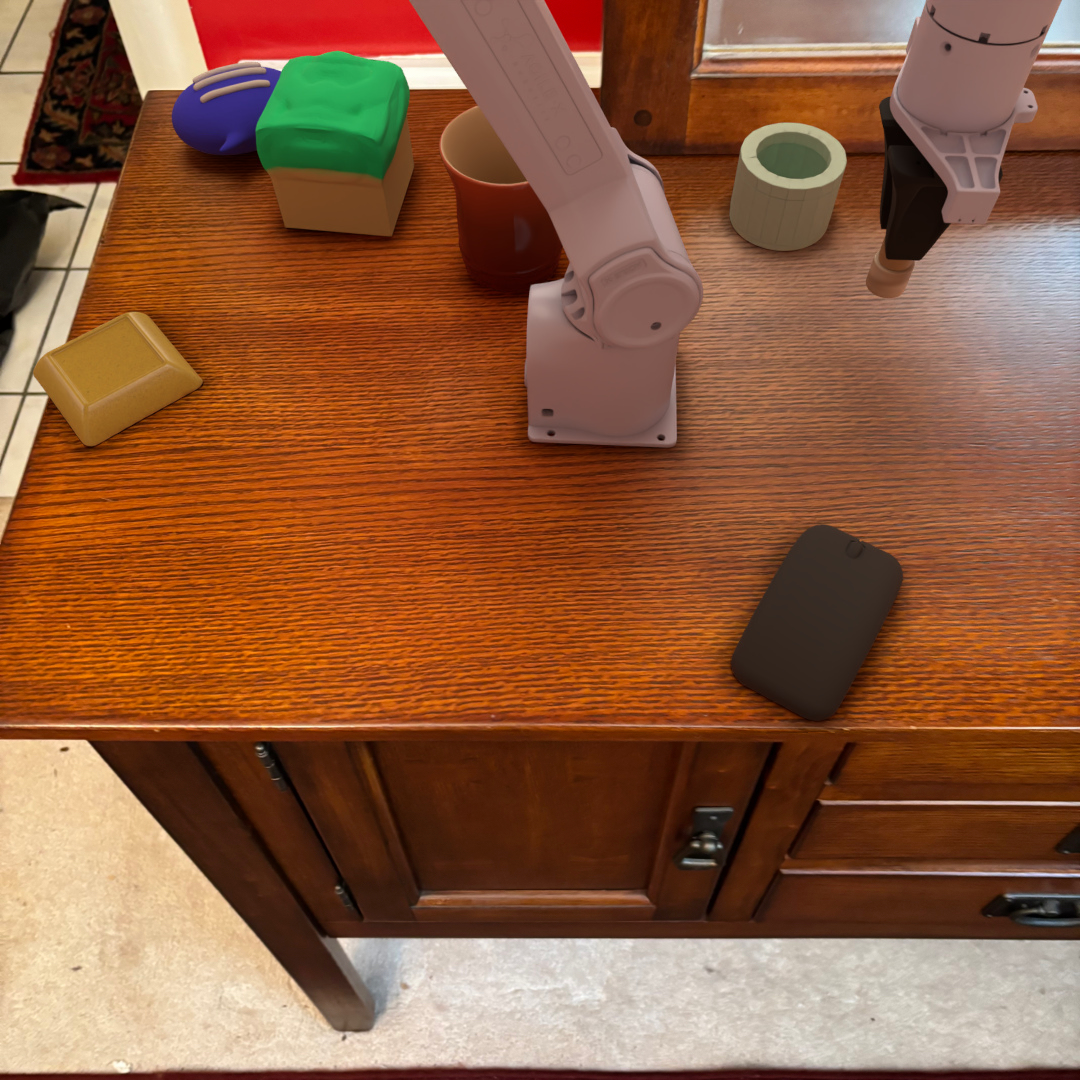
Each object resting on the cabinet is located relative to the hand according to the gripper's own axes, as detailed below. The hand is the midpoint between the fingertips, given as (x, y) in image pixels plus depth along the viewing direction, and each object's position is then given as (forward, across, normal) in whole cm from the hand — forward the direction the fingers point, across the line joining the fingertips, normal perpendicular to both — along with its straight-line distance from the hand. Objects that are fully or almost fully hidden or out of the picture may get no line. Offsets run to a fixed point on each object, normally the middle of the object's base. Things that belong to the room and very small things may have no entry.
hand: (900, 241), depth 57 cm
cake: (+10, +15, +37) cm, 41 cm away
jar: (+10, +14, +4) cm, 18 cm away
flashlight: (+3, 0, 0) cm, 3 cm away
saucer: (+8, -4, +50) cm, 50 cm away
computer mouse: (+10, -20, +4) cm, 23 cm away
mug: (+11, +10, +24) cm, 28 cm away
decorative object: (+6, +16, +45) cm, 48 cm away
